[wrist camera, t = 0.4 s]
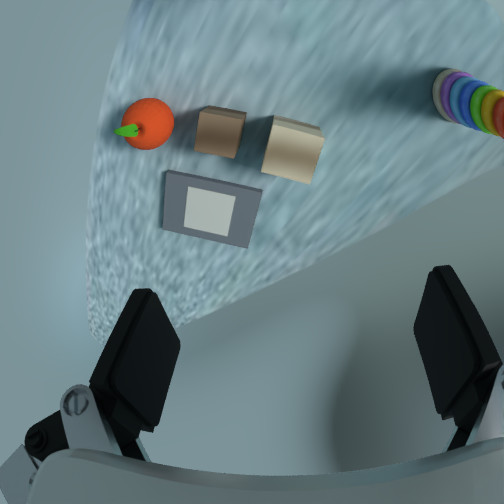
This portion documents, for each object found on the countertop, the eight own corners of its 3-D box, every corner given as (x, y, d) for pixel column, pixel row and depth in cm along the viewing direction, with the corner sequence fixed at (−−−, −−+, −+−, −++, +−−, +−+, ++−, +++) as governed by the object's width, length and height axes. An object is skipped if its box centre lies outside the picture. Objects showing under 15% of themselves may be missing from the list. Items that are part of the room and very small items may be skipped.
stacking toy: (435, 125, 33) (516, 180, 18) (424, 70, 28) (514, 94, 14) (476, 118, 30) (561, 169, 16) (468, 66, 26) (561, 94, 11)
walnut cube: (209, 105, 35) (199, 111, 31) (246, 112, 36) (242, 119, 32) (203, 139, 38) (193, 150, 34) (239, 147, 39) (233, 158, 35)
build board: (168, 170, 41) (166, 172, 40) (262, 189, 42) (262, 193, 41) (164, 226, 47) (162, 229, 46) (248, 244, 48) (247, 249, 47)
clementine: (132, 143, 39) (109, 161, 33) (126, 99, 35) (99, 109, 29) (183, 139, 38) (165, 155, 33) (178, 91, 34) (158, 99, 29)
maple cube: (274, 114, 36) (273, 124, 31) (318, 126, 36) (324, 138, 31) (263, 156, 39) (260, 171, 34) (306, 166, 39) (309, 184, 35)
